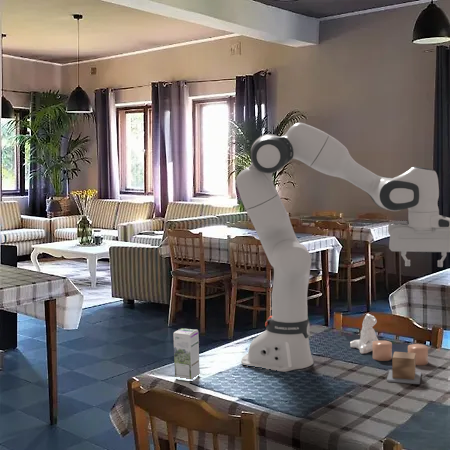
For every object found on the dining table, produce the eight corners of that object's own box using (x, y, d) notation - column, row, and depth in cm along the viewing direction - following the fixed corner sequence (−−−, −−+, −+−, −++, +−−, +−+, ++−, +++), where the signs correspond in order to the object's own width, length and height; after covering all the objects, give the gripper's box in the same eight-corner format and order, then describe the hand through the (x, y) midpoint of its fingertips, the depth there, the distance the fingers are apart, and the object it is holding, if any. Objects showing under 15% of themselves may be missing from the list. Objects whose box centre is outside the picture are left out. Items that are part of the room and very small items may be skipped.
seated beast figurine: (348, 346, 230) (348, 311, 229) (371, 344, 232) (371, 309, 231) (361, 354, 221) (361, 318, 219) (385, 351, 223) (385, 315, 222)
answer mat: (386, 381, 194) (386, 379, 194) (389, 371, 202) (389, 369, 202) (419, 384, 191) (419, 381, 191) (421, 374, 199) (421, 371, 199)
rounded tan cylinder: (371, 360, 214) (371, 344, 214) (373, 354, 220) (373, 339, 219) (391, 361, 212) (390, 346, 212) (392, 356, 218) (392, 340, 217)
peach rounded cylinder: (407, 364, 209) (407, 348, 208) (408, 359, 214) (408, 343, 214) (427, 366, 207) (427, 350, 206) (428, 360, 212) (428, 344, 212)
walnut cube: (392, 377, 195) (392, 357, 194) (394, 371, 200) (394, 351, 200) (414, 379, 193) (414, 358, 192) (415, 373, 198) (415, 352, 198)
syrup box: (200, 376, 202) (199, 329, 201) (191, 382, 197) (189, 333, 196) (183, 374, 205) (182, 327, 203) (174, 380, 199) (172, 332, 198)
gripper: (387, 221, 204) (387, 267, 206) (458, 221, 198) (458, 268, 199) (389, 219, 210) (389, 263, 212) (459, 219, 204) (459, 265, 205)
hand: (423, 266), depth 205 cm, fingers open, 8 cm apart
